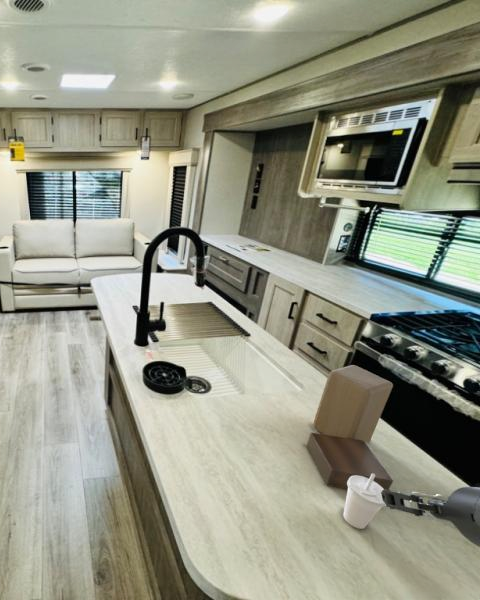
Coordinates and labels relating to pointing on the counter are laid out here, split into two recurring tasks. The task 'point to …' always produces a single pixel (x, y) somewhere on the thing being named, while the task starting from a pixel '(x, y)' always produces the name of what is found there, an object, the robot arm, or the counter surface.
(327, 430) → the wooden block
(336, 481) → the walnut block
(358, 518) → the smoothie
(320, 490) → the counter surface
